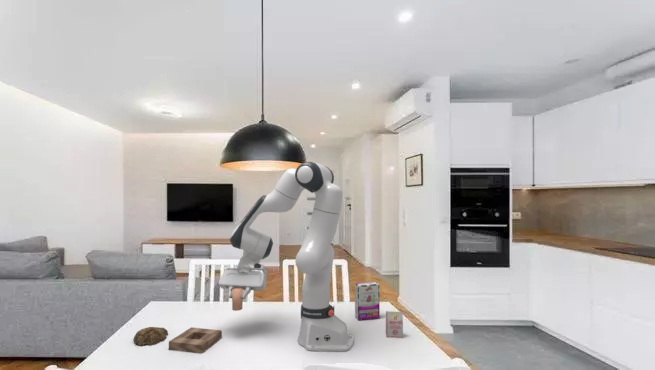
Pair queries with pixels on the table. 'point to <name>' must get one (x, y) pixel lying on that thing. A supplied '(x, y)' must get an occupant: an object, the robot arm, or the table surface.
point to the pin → (237, 299)
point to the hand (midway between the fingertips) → (236, 298)
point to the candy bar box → (367, 301)
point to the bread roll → (150, 336)
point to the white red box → (394, 324)
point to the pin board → (195, 340)
